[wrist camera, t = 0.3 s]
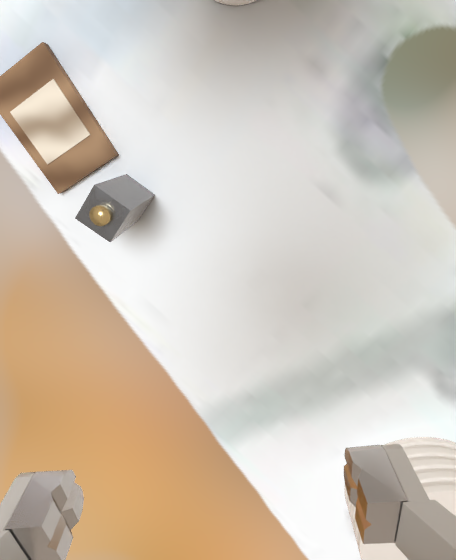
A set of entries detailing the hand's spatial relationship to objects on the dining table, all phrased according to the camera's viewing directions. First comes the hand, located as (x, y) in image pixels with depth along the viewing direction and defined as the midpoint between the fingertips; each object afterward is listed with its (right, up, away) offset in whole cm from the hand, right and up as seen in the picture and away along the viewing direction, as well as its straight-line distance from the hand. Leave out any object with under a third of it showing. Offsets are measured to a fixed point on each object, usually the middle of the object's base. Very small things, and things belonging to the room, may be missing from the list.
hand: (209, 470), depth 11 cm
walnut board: (-24, +28, +40) cm, 55 cm away
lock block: (-14, +18, +44) cm, 50 cm away
